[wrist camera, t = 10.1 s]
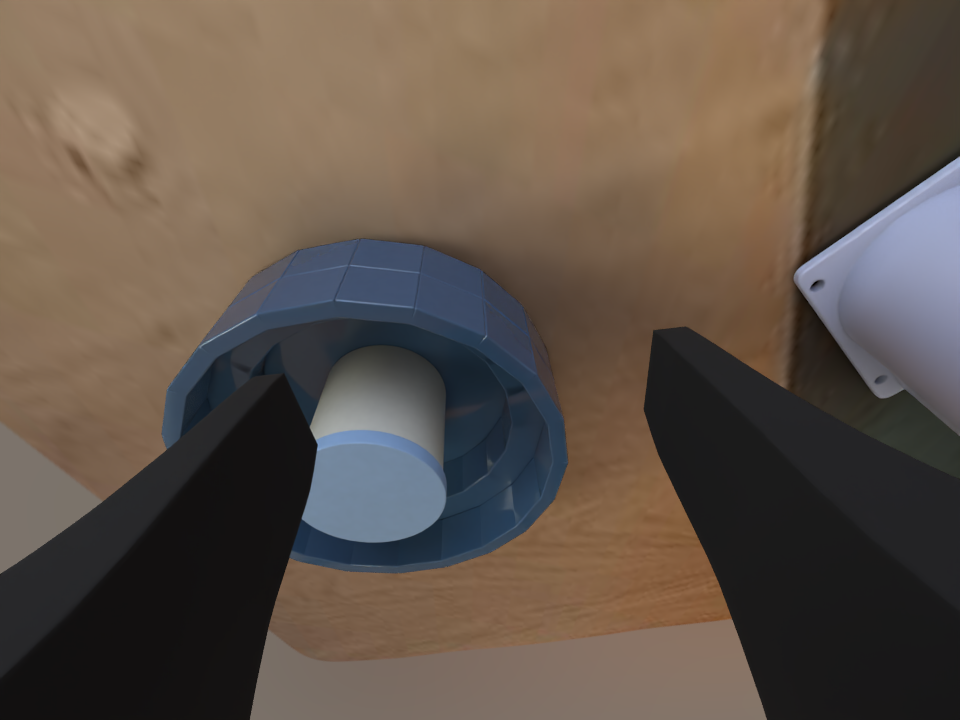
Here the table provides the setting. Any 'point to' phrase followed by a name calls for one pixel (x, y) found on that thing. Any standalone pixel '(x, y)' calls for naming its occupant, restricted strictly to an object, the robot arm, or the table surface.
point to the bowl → (425, 331)
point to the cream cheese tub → (378, 447)
